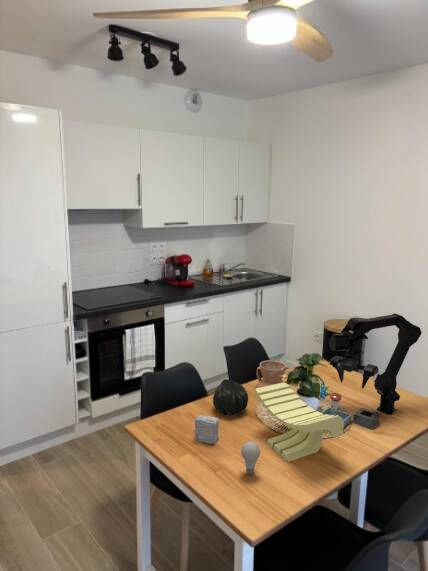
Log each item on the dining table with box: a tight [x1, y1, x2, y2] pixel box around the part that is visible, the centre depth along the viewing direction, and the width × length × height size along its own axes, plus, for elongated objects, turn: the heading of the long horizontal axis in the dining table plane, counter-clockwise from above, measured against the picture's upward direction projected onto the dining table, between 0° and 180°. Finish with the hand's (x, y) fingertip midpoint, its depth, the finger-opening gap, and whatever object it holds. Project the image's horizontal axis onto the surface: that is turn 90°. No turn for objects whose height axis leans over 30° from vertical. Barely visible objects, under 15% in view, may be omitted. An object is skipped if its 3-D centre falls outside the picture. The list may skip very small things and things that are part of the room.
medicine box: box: [194, 414, 220, 446], centre depth 157 cm, size 8×4×9 cm, turn 71°
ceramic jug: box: [256, 359, 288, 388], centre depth 197 cm, size 18×14×14 cm
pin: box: [329, 392, 342, 416], centre depth 171 cm, size 4×4×11 cm
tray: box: [320, 406, 353, 429], centre depth 172 cm, size 10×10×3 cm
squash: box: [212, 378, 249, 417], centre depth 179 cm, size 14×15×15 cm
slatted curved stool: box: [254, 382, 344, 462], centre depth 153 cm, size 30×16×18 cm, turn 27°
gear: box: [319, 382, 330, 399], centre depth 197 cm, size 11×6×10 cm
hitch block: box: [352, 407, 381, 430], centre depth 171 cm, size 8×8×4 cm
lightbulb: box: [240, 441, 261, 475], centre depth 137 cm, size 6×6×11 cm
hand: (352, 385), depth 176 cm, fingers open, 9 cm apart
